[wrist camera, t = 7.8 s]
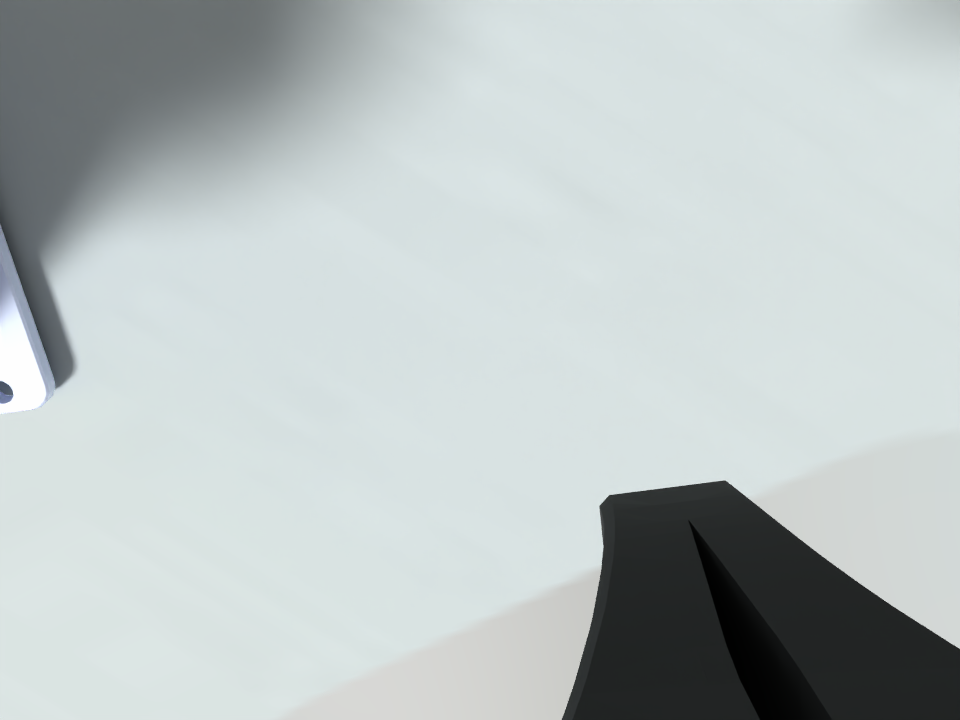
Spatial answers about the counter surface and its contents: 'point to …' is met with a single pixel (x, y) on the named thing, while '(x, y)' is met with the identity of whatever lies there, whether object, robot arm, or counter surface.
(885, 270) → the counter surface
